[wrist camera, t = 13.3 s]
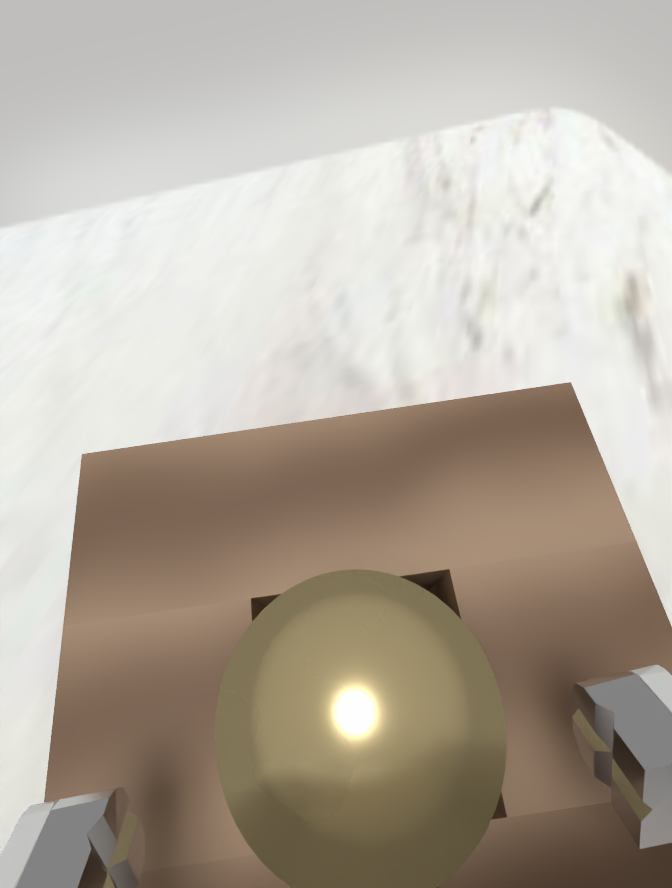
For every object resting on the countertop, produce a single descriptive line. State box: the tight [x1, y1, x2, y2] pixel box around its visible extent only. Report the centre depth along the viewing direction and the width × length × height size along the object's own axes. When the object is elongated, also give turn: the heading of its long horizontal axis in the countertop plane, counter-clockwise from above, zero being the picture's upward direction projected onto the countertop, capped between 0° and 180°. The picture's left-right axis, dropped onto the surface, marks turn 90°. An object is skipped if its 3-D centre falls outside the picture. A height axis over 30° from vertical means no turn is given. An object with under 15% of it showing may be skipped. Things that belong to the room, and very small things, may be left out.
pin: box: [214, 569, 507, 888], centre depth 11 cm, size 4×4×10 cm
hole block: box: [44, 382, 672, 888], centre depth 14 cm, size 15×15×6 cm
